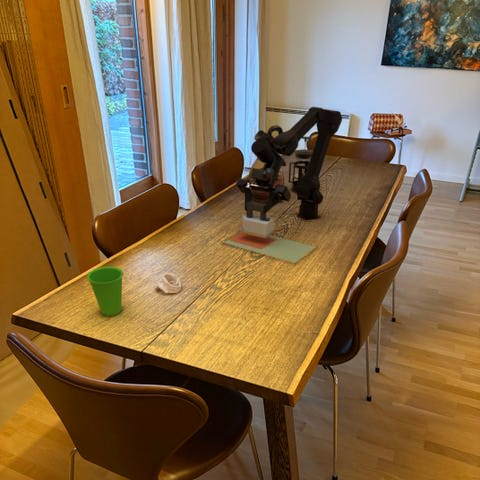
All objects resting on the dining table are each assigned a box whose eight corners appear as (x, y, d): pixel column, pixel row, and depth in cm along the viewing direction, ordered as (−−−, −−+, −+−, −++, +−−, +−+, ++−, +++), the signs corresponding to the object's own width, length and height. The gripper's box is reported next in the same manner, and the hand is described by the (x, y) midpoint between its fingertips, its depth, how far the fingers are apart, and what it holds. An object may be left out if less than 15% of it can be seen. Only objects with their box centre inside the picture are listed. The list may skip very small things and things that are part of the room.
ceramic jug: (258, 207, 194) (260, 130, 178) (241, 197, 205) (241, 123, 189) (293, 201, 201) (298, 126, 184) (274, 191, 212) (277, 120, 196)
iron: (274, 232, 163) (275, 203, 158) (265, 238, 159) (266, 209, 153) (246, 225, 168) (247, 198, 162) (237, 232, 163) (237, 203, 158)
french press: (316, 188, 216) (321, 135, 203) (310, 194, 208) (314, 140, 196) (292, 185, 220) (295, 133, 207) (285, 191, 212) (288, 137, 200)
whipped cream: (168, 283, 141) (166, 268, 139) (187, 286, 138) (185, 270, 136) (152, 293, 134) (150, 277, 132) (172, 297, 132) (170, 280, 129)
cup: (97, 303, 129) (90, 267, 123) (130, 301, 130) (125, 265, 124) (91, 321, 122) (83, 283, 116) (126, 319, 122) (121, 282, 116)
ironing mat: (223, 243, 163) (223, 241, 163) (247, 230, 174) (247, 228, 173) (294, 264, 150) (294, 262, 150) (316, 248, 160) (316, 246, 160)
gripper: (238, 153, 157) (221, 195, 155) (289, 161, 149) (271, 205, 147) (249, 171, 167) (234, 211, 165) (298, 179, 159) (282, 221, 157)
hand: (254, 212), depth 158 cm, fingers closed on iron, 7 cm apart
